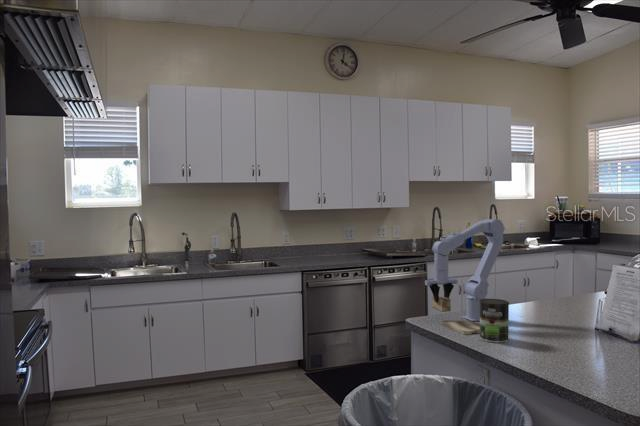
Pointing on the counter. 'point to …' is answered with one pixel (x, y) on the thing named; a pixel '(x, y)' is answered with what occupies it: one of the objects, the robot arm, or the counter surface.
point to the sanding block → (442, 304)
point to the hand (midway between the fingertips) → (441, 301)
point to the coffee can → (494, 320)
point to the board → (463, 326)
